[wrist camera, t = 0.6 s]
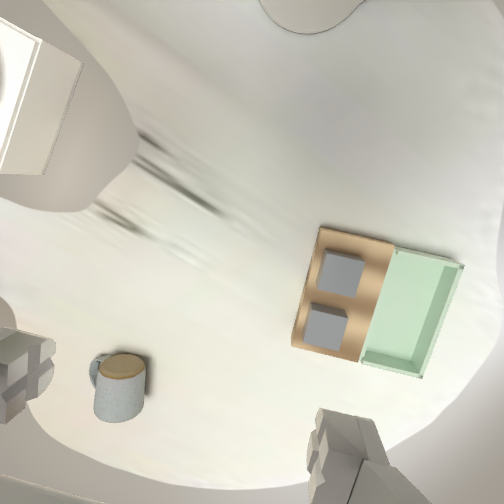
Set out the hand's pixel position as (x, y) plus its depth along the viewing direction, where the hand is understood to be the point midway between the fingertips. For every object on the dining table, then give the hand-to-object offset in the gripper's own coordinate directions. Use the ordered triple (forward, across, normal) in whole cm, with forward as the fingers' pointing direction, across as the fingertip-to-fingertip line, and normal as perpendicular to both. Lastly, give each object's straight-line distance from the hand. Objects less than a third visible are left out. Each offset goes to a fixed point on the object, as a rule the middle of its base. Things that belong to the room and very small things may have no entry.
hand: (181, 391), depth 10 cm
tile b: (+37, -11, +12) cm, 40 cm away
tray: (+40, -22, +8) cm, 46 cm away
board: (+40, -13, +8) cm, 42 cm away
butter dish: (+40, +41, -11) cm, 58 cm away
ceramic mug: (+40, +18, +31) cm, 54 cm away
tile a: (+37, -11, +4) cm, 38 cm away
